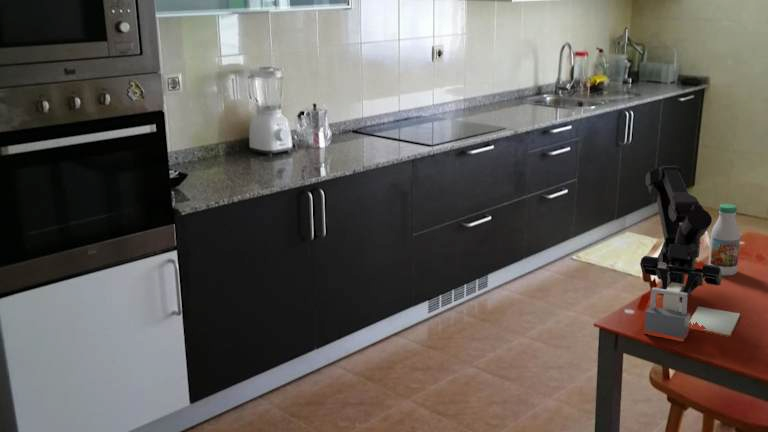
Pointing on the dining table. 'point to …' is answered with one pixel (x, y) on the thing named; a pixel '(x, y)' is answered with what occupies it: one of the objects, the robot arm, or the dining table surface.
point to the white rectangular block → (673, 298)
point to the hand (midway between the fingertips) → (673, 301)
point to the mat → (715, 320)
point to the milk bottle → (725, 241)
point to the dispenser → (667, 316)
